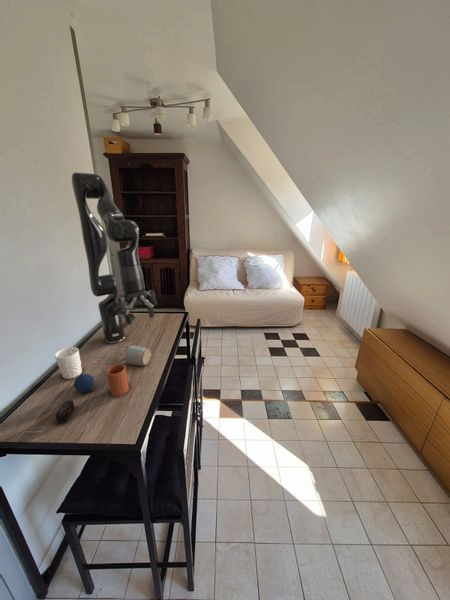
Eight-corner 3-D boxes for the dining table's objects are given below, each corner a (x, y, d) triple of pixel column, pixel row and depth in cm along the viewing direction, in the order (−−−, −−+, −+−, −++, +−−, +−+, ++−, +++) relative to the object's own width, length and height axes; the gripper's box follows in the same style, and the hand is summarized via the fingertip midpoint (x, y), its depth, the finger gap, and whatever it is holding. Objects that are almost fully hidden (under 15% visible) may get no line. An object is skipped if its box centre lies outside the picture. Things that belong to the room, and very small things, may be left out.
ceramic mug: (143, 369, 102) (141, 353, 99) (125, 367, 103) (123, 351, 101) (156, 356, 111) (154, 340, 109) (139, 353, 113) (137, 338, 111)
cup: (112, 385, 93) (108, 365, 90) (129, 383, 94) (126, 362, 91) (109, 397, 87) (104, 375, 84) (127, 394, 88) (124, 373, 85)
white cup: (60, 382, 95) (53, 360, 91) (62, 371, 101) (56, 350, 98) (83, 376, 98) (78, 354, 95) (83, 365, 105) (78, 345, 101)
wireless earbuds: (77, 406, 83) (74, 398, 82) (66, 423, 76) (63, 415, 75) (62, 407, 83) (60, 399, 82) (50, 424, 76) (47, 416, 75)
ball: (79, 386, 93) (75, 371, 91) (97, 383, 94) (94, 368, 92) (73, 397, 87) (69, 382, 85) (93, 394, 88) (89, 379, 86)
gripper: (146, 274, 97) (153, 313, 101) (108, 281, 88) (118, 324, 92) (155, 275, 91) (162, 316, 95) (115, 282, 82) (125, 328, 86)
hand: (140, 320), depth 93 cm, fingers open, 8 cm apart
